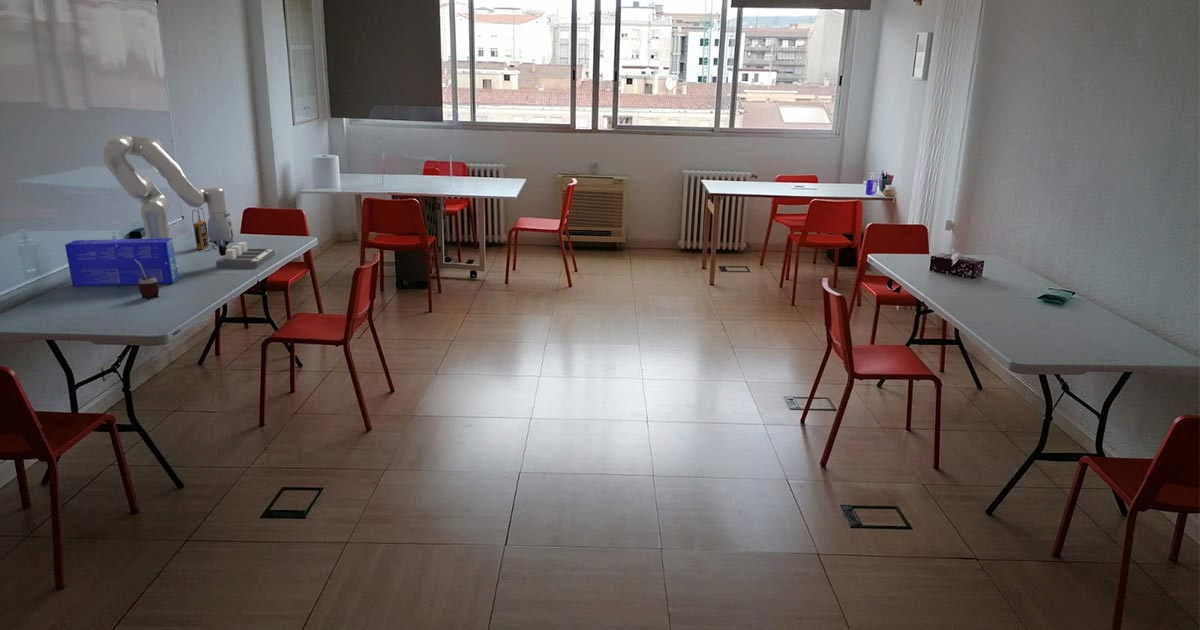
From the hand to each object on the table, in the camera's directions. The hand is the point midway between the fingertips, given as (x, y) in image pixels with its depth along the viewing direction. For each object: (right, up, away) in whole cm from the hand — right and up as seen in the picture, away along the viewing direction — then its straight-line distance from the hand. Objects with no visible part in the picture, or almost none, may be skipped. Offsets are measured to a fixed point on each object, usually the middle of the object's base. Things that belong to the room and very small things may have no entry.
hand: (223, 255), depth 372 cm
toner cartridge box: (-27, -14, -30) cm, 43 cm away
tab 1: (+3, -2, +1) cm, 4 cm away
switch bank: (+7, -2, +8) cm, 11 cm away
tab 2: (+3, +3, +14) cm, 14 cm away
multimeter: (-21, +5, +32) cm, 39 cm away
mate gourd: (-7, -21, -49) cm, 53 cm away
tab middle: (+3, +1, +7) cm, 8 cm away
